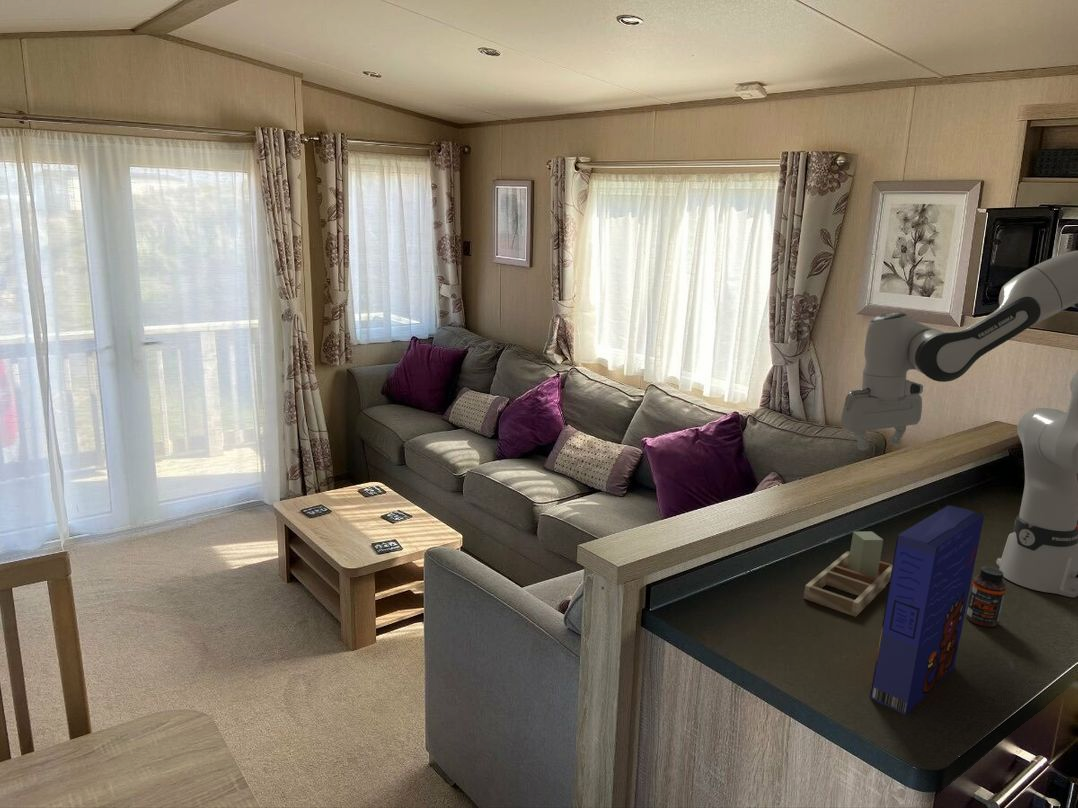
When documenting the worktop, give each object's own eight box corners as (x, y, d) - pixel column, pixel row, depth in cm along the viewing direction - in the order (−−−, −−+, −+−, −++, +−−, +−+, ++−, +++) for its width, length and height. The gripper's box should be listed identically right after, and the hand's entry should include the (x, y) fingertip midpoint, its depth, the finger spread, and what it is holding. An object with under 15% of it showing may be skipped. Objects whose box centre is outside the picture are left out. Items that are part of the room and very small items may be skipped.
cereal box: (920, 653, 150) (948, 503, 143) (954, 667, 146) (984, 514, 139) (869, 698, 136) (897, 533, 128) (905, 715, 131) (936, 545, 124)
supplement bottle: (966, 624, 163) (977, 572, 160) (963, 611, 168) (973, 561, 165) (1000, 631, 160) (1011, 579, 158) (995, 617, 166) (1006, 567, 163)
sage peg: (846, 572, 183) (853, 531, 180) (865, 572, 184) (872, 531, 181) (857, 581, 178) (864, 540, 176) (876, 581, 179) (883, 539, 177)
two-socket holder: (845, 562, 189) (847, 550, 188) (894, 577, 182) (896, 565, 181) (803, 598, 170) (805, 585, 169) (855, 616, 163) (857, 603, 162)
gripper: (857, 392, 171) (853, 455, 174) (929, 385, 178) (923, 445, 181) (836, 388, 177) (832, 448, 179) (906, 381, 184) (901, 439, 187)
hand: (879, 447), depth 180 cm, fingers open, 8 cm apart
